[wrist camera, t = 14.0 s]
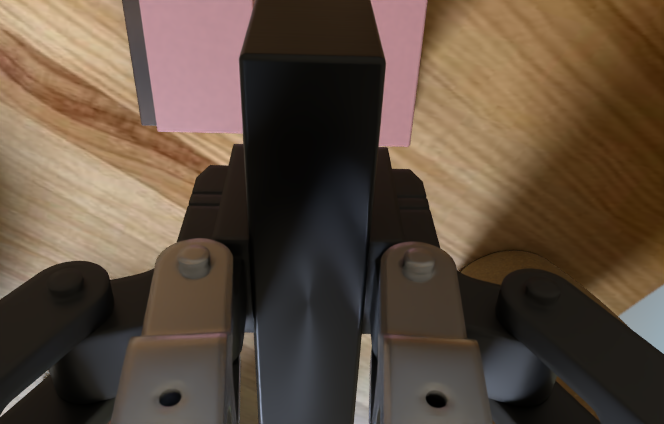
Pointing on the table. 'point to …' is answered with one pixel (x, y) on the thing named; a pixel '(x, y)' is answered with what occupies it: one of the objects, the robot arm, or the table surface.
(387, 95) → the slice
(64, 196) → the table surface
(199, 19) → the cake
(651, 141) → the table surface
